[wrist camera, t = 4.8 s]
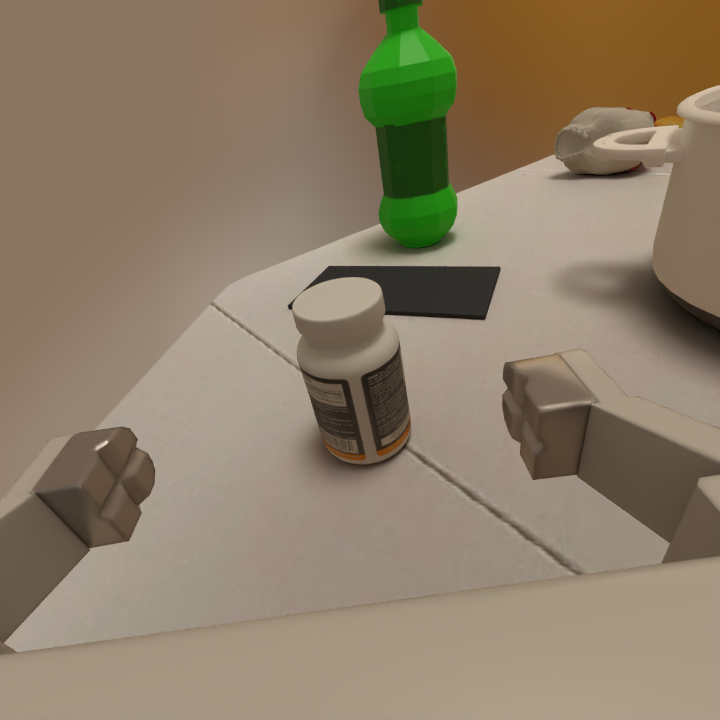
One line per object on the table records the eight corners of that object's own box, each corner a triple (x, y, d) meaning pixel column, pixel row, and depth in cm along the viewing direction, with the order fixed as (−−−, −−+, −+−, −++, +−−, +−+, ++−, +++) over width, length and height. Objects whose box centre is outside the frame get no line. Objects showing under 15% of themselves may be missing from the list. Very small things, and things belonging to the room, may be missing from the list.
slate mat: (288, 308, 43) (287, 305, 43) (329, 268, 50) (328, 265, 50) (484, 319, 35) (485, 315, 35) (500, 270, 42) (500, 266, 42)
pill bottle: (393, 394, 29) (373, 263, 23) (426, 451, 24) (410, 303, 19) (316, 419, 28) (276, 289, 23) (335, 482, 24) (289, 338, 18)
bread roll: (618, 147, 75) (622, 122, 73) (660, 137, 76) (666, 112, 74) (655, 152, 68) (661, 125, 66) (702, 140, 69) (709, 113, 67)
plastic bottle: (365, 248, 54) (325, 1, 40) (419, 222, 59) (400, -6, 45) (422, 261, 47) (398, -30, 33) (477, 231, 52) (477, -34, 38)
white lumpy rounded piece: (545, 175, 66) (610, 165, 71) (608, 183, 57) (677, 171, 62) (556, 109, 61) (625, 104, 66) (626, 107, 53) (700, 101, 58)
